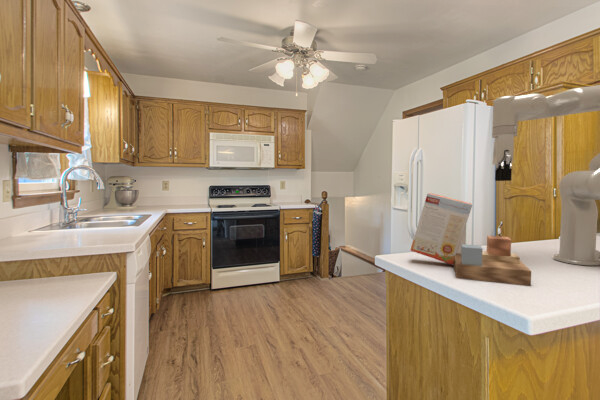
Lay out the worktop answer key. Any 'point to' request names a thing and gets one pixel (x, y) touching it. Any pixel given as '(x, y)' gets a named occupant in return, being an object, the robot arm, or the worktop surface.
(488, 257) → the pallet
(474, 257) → the grey-blue cube
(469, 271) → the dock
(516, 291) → the worktop surface
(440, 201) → the cracker box
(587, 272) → the worktop surface
